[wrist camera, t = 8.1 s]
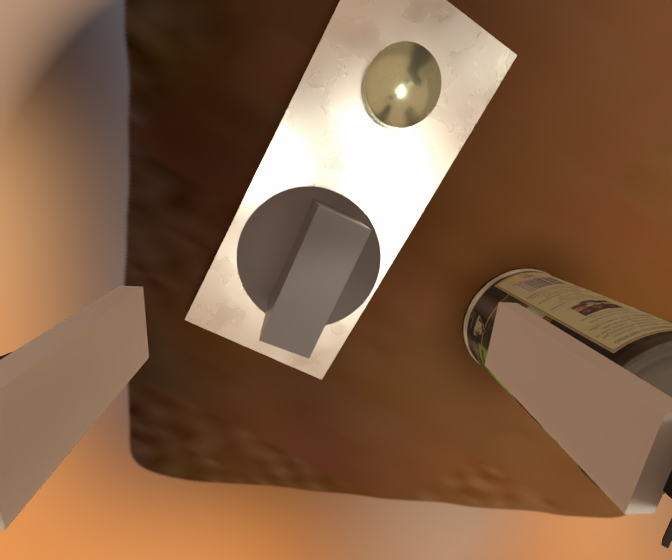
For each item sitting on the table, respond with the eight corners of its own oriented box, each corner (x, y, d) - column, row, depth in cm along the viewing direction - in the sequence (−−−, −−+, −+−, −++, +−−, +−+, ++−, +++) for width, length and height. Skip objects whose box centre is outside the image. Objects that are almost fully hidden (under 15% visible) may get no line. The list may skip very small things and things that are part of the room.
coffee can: (494, 390, 34) (620, 528, 21) (442, 312, 32) (549, 414, 18) (586, 330, 34) (779, 433, 20) (541, 244, 31) (731, 297, 17)
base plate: (363, -41, 24) (373, -73, 20) (501, 64, 26) (528, 49, 23) (192, 310, 29) (179, 326, 26) (320, 367, 32) (322, 387, 29)
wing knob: (272, 161, 24) (260, 154, 17) (397, 221, 27) (437, 240, 19) (221, 288, 27) (189, 333, 19) (340, 335, 29) (356, 392, 21)
